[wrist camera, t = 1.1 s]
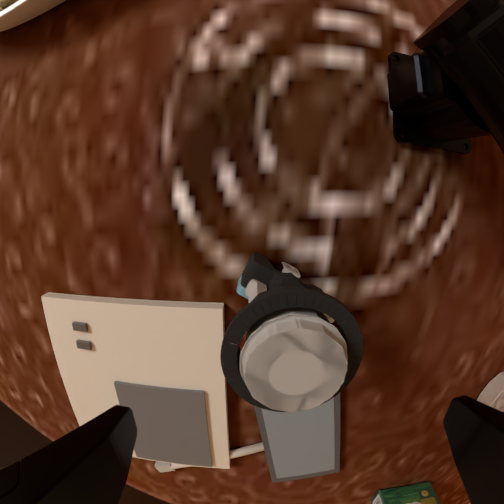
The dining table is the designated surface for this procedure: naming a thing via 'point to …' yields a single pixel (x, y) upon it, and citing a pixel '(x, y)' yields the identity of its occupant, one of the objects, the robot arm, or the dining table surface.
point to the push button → (288, 341)
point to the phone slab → (301, 441)
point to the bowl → (23, 11)
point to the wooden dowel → (232, 454)
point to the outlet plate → (147, 371)
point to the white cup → (494, 393)
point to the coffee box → (407, 495)
